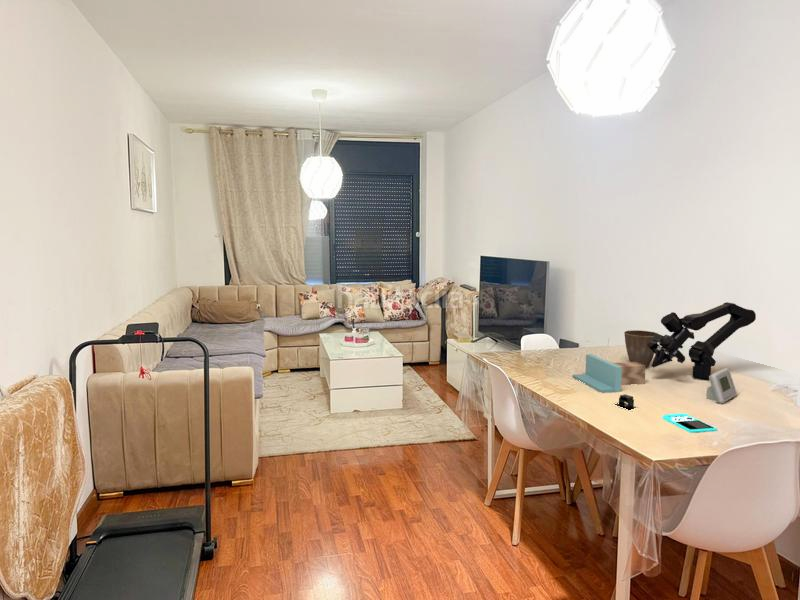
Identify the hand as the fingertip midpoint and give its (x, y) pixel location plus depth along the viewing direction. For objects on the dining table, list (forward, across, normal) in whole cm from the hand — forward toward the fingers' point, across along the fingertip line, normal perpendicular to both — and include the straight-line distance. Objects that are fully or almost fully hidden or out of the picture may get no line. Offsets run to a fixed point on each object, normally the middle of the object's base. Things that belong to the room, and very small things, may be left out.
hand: (652, 366), depth 241 cm
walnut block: (+14, 0, -5) cm, 15 cm away
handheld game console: (+19, +50, -10) cm, 54 cm away
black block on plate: (+26, +30, -17) cm, 43 cm away
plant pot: (-2, -23, +11) cm, 26 cm away
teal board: (+22, 0, -14) cm, 26 cm away
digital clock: (-3, +28, +12) cm, 31 cm away
